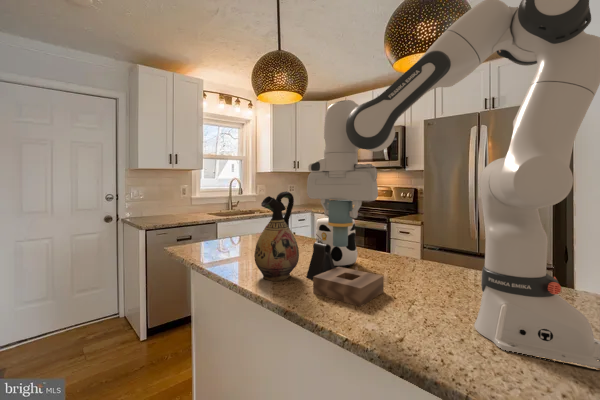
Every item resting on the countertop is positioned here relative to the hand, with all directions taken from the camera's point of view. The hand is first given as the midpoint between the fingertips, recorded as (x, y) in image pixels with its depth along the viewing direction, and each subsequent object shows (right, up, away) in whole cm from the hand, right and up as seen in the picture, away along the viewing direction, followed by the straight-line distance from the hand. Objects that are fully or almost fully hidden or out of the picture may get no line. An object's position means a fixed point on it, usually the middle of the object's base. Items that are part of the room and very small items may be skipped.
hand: (340, 216), depth 84 cm
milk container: (+3, -22, +42) cm, 48 cm away
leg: (0, -8, 0) cm, 8 cm away
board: (+4, -23, +11) cm, 26 cm away
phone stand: (-3, -23, +26) cm, 34 cm away
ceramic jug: (-18, -23, +27) cm, 39 cm away
